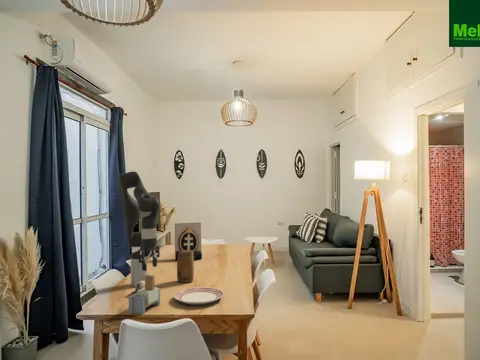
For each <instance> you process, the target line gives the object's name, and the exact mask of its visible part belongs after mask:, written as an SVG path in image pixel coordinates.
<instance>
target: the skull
mask: <svg viewBox="0 0 480 360" xmlns="http://www.w3.org/2000/svg"><path fill="white" fill-rule="evenodd" d="M144 287H145V281H140V282H139V283H138V284H137V286H136V287H134V291H132V292H131V293H130V296H131V295H134V294H136V293H137V291H138V290H140V289H142V288H144Z"/></svg>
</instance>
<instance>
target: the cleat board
mask: <svg viewBox="0 0 480 360" xmlns="http://www.w3.org/2000/svg"><path fill="white" fill-rule="evenodd" d="M151 305H152V306H158V307H159V306H160V305H161V289H159V288H158V300H156V301H154V302H152V303H150V304H145V297H141V296H137V293H136V294H134V295H131V294H130V296H128V314H140V315H144V314H146V309H147V308H149V307H150V306H151Z"/></svg>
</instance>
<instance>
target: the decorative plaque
mask: <svg viewBox="0 0 480 360" xmlns="http://www.w3.org/2000/svg"><path fill="white" fill-rule="evenodd" d="M182 250H192V251H193V255H194V261H197V260H202V259H203V254H202V252H203V251H202V223H201V222H182V223H179V222H178V223H174V255H175V256H174V257H175V261H176V262H177V259H178V254H179V252H180V251H182Z"/></svg>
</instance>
